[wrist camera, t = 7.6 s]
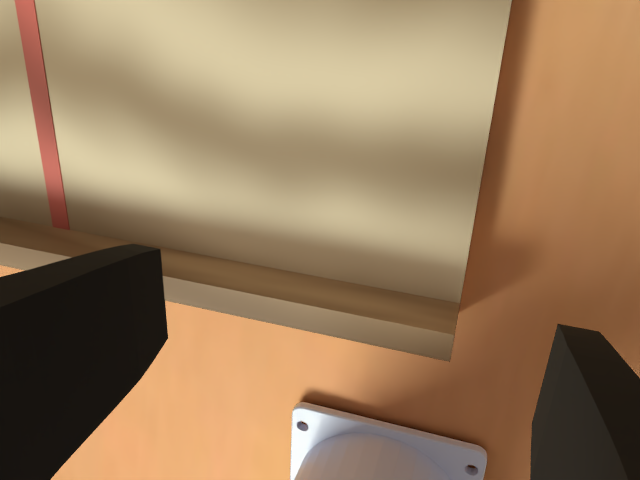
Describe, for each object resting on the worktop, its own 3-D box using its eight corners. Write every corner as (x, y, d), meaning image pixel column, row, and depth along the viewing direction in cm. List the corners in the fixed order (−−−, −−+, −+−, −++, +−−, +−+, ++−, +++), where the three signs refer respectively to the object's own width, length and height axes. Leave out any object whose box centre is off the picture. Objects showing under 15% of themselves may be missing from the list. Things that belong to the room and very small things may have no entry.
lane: (457, 313, 20) (449, 361, 18) (-129, 200, 27) (-196, 222, 25) (530, -108, 15) (533, -128, 12) (-225, -113, 22) (-325, -127, 19)
